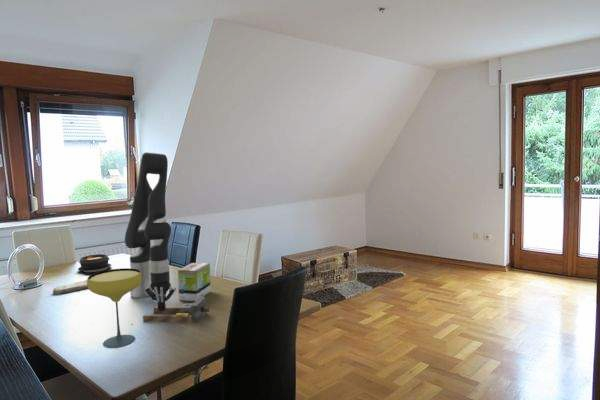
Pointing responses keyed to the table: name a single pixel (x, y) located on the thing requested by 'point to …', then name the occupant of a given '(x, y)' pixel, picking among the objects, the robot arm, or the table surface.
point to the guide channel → (179, 313)
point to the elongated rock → (70, 287)
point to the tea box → (194, 281)
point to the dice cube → (186, 308)
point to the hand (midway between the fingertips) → (161, 310)
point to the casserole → (94, 263)
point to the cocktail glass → (115, 295)
